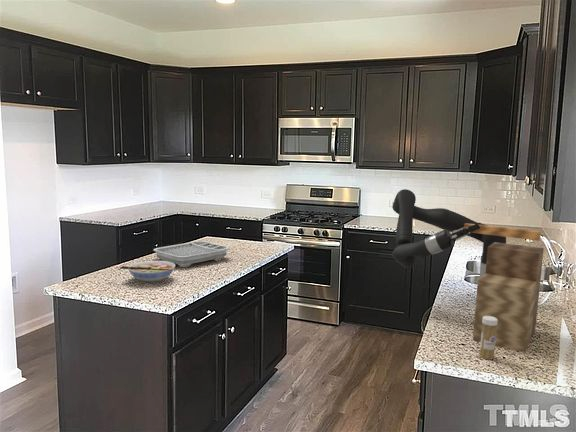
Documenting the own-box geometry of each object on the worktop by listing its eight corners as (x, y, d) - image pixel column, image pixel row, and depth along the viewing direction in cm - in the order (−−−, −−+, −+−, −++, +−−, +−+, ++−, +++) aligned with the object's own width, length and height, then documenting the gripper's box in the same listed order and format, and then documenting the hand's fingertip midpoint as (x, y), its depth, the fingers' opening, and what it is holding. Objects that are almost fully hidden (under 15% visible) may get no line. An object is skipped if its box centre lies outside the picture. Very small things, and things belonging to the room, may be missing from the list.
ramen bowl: (184, 275, 243) (183, 260, 242) (168, 288, 221) (168, 271, 219) (137, 273, 246) (136, 258, 244) (117, 286, 223) (116, 269, 222)
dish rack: (149, 260, 274) (149, 247, 273) (201, 251, 300) (201, 239, 299) (180, 271, 252) (180, 256, 251) (233, 260, 279) (233, 247, 277)
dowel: (463, 231, 183) (464, 224, 183) (465, 230, 186) (466, 223, 185) (538, 240, 169) (539, 232, 168) (539, 239, 171) (540, 231, 171)
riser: (472, 339, 169) (480, 252, 165) (487, 320, 189) (494, 242, 184) (525, 352, 160) (534, 259, 155) (535, 330, 179) (543, 248, 175)
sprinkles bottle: (488, 361, 152) (492, 321, 150) (476, 355, 156) (479, 316, 154) (497, 358, 155) (500, 318, 153) (484, 352, 159) (488, 314, 157)
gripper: (429, 236, 185) (471, 218, 176) (440, 231, 197) (480, 214, 187) (438, 253, 184) (480, 236, 175) (448, 247, 196) (488, 231, 186)
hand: (479, 225), depth 181 cm, fingers closed on dowel, 3 cm apart
